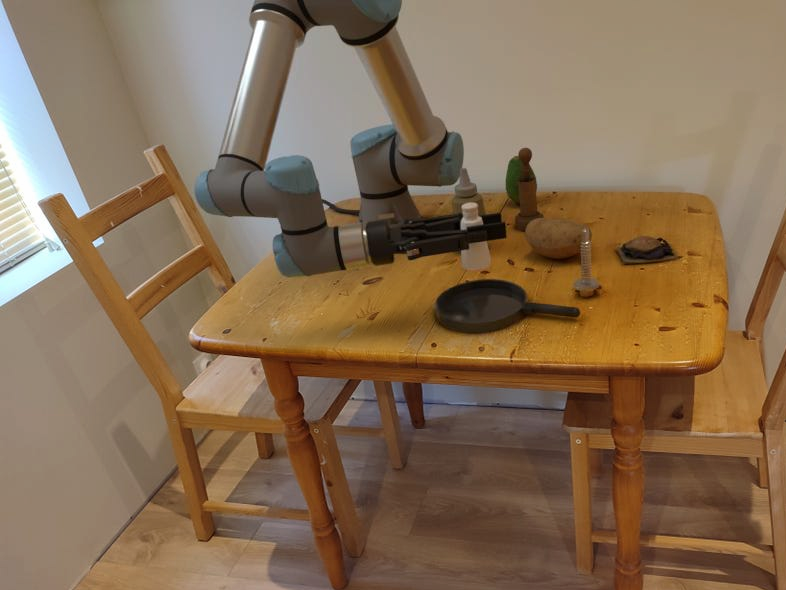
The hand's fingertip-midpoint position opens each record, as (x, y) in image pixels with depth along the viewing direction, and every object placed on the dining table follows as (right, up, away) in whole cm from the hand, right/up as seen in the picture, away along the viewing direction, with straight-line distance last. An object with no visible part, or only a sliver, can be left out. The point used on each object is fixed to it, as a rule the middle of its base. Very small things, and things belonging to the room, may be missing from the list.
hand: (503, 225), depth 112 cm
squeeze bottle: (-6, +1, +32) cm, 32 cm away
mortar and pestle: (+8, +8, +40) cm, 42 cm away
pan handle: (+8, -15, +3) cm, 18 cm away
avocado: (+7, +16, +53) cm, 56 cm away
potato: (+13, -2, +24) cm, 27 cm away
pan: (-4, -14, +8) cm, 17 cm away
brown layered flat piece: (+30, -2, +21) cm, 36 cm away
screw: (+16, -11, +9) cm, 21 cm away
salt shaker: (-5, -7, +3) cm, 9 cm away
